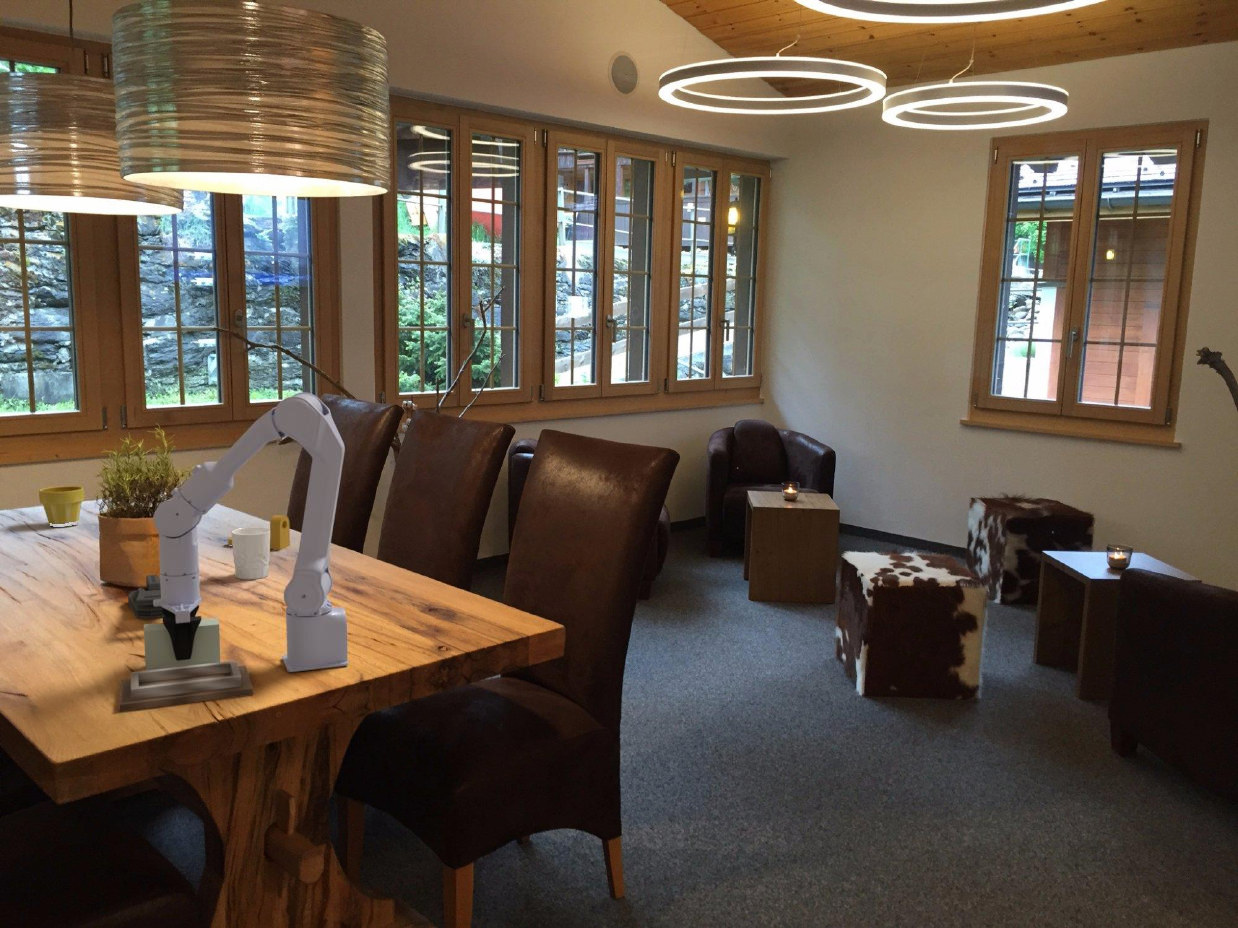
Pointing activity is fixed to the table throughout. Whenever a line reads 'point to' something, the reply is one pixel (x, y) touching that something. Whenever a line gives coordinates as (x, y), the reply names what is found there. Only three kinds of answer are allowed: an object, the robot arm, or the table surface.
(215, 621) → the pale green block
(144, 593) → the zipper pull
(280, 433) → the robot arm
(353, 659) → the table surface
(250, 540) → the white cup
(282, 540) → the bracket
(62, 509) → the plant pot
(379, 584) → the table surface
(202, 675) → the plate
